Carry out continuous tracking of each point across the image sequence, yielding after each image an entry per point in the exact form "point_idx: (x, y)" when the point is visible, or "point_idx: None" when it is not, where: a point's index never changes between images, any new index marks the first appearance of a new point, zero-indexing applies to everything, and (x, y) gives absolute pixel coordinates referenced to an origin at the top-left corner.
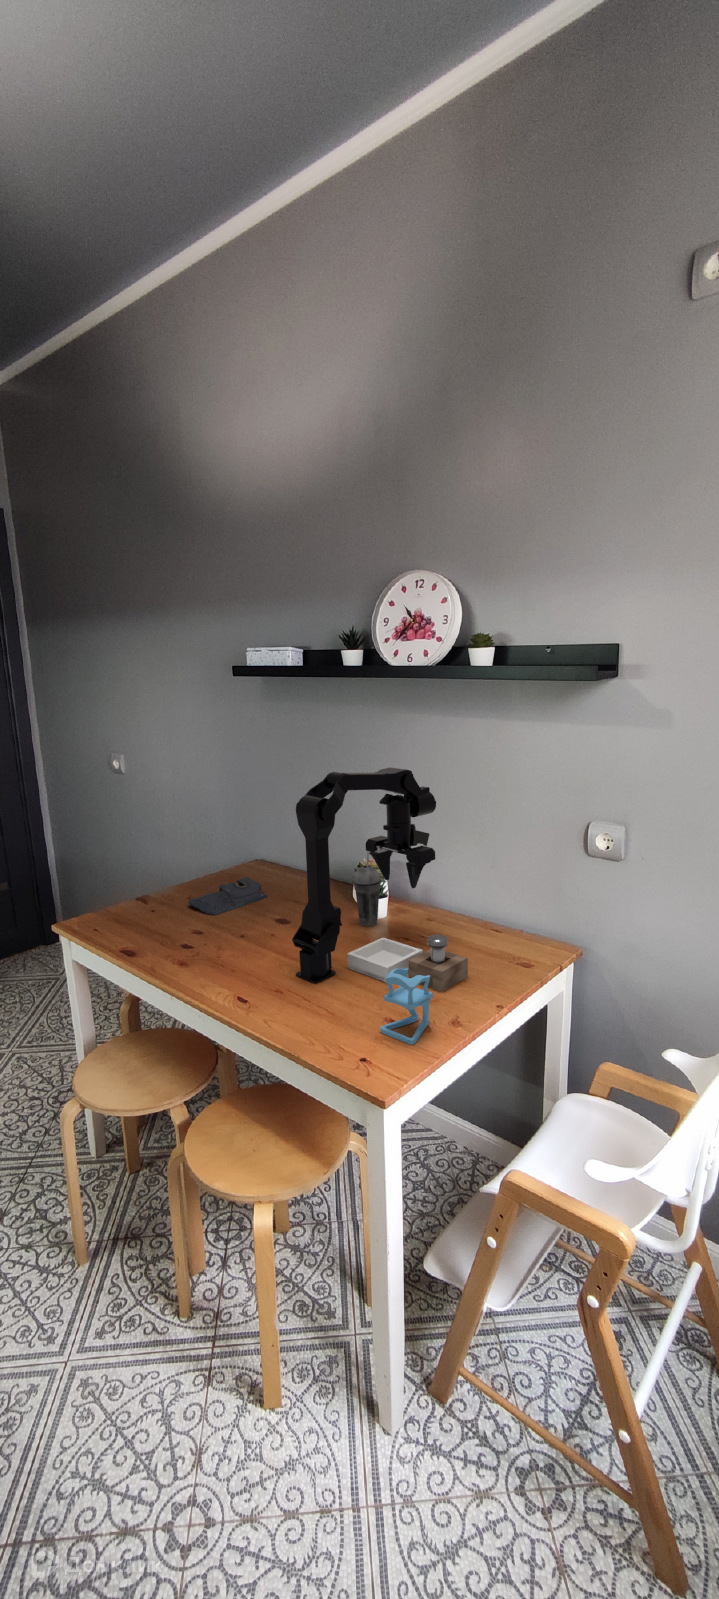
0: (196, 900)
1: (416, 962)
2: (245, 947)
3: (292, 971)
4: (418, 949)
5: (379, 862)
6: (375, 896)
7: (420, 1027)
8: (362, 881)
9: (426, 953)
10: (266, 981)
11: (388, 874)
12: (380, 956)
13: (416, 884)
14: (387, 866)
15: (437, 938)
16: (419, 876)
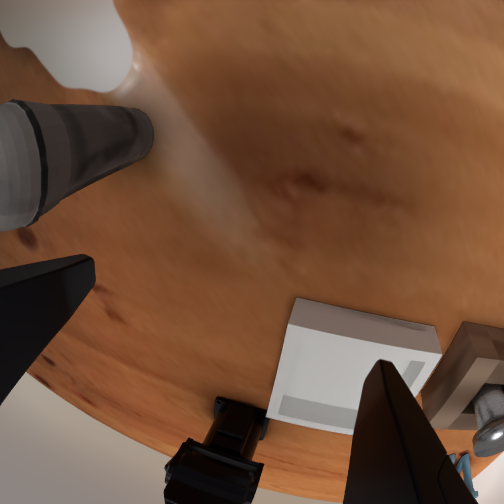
0: None
1: (443, 427)
2: (80, 352)
3: (198, 412)
4: (430, 356)
5: (3, 396)
6: (86, 155)
7: (460, 469)
8: (17, 227)
9: (461, 391)
10: (196, 435)
11: (66, 280)
12: (319, 352)
13: (400, 381)
14: (15, 315)
15: (498, 443)
16: (438, 440)
